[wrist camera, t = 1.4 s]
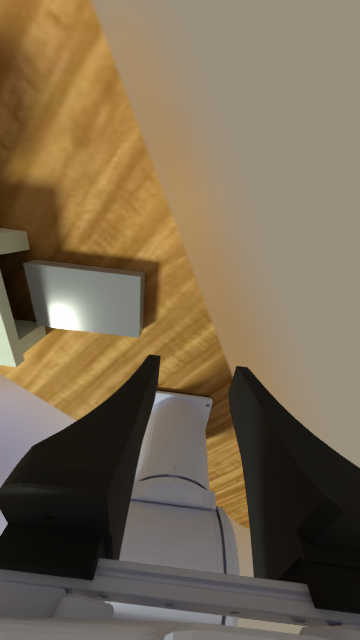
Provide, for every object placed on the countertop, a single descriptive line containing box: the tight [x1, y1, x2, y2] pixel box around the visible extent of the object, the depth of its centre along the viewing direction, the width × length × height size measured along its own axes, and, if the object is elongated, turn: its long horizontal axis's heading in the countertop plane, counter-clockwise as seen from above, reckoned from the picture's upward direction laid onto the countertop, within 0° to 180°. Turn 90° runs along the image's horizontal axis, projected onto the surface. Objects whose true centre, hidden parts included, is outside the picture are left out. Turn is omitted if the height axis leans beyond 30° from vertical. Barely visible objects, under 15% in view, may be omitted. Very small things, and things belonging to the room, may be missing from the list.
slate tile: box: [23, 260, 145, 338], centre depth 19 cm, size 6×10×2 cm, turn 84°
